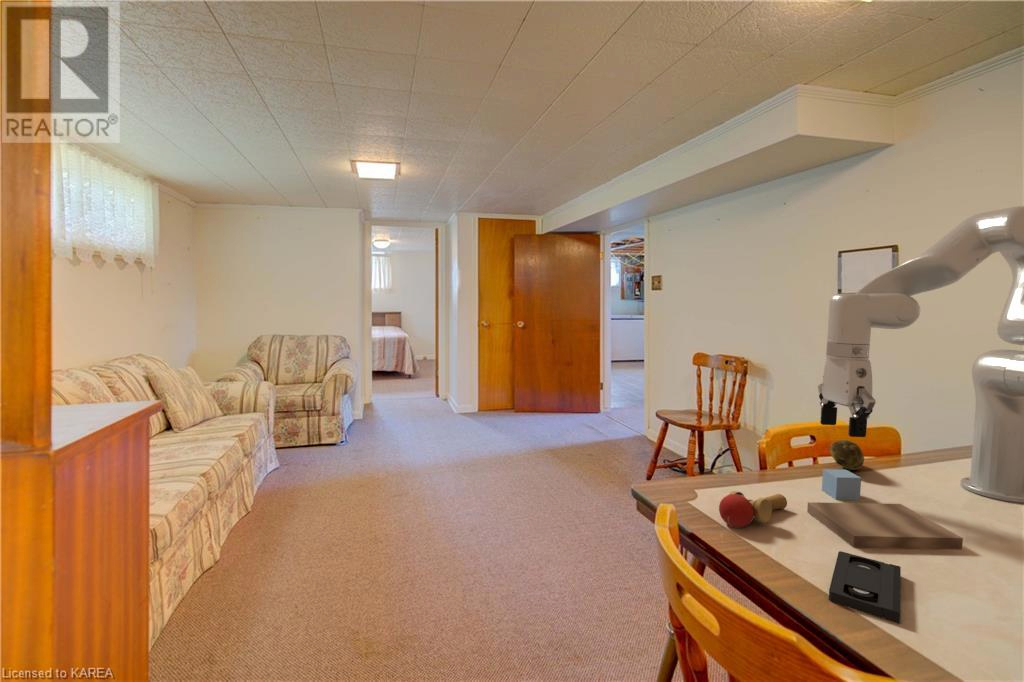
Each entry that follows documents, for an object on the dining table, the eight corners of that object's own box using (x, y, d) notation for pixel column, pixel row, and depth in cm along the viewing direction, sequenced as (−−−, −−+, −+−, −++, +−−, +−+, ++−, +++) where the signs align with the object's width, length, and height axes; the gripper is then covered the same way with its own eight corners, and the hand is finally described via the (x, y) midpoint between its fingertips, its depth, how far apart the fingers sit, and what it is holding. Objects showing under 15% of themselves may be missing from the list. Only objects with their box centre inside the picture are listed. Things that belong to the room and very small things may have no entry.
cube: (844, 491, 108) (845, 469, 107) (859, 500, 103) (861, 477, 102) (821, 491, 108) (822, 469, 108) (835, 500, 103) (837, 477, 103)
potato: (875, 468, 122) (876, 437, 122) (856, 479, 115) (858, 446, 114) (837, 460, 129) (839, 430, 128) (817, 470, 121) (819, 439, 121)
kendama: (756, 506, 103) (704, 514, 93) (765, 479, 102) (713, 485, 92) (792, 527, 97) (740, 538, 87) (802, 498, 96) (750, 506, 86)
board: (899, 513, 96) (900, 503, 96) (962, 549, 82) (962, 538, 82) (807, 512, 97) (807, 502, 97) (853, 547, 83) (853, 536, 83)
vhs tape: (838, 562, 79) (838, 550, 79) (899, 579, 74) (900, 566, 74) (828, 604, 68) (828, 590, 68) (899, 627, 63) (900, 612, 63)
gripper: (895, 356, 94) (889, 442, 95) (839, 348, 111) (834, 421, 113) (856, 355, 94) (850, 441, 96) (806, 347, 112) (801, 420, 113)
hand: (841, 430), depth 104 cm, fingers open, 9 cm apart
